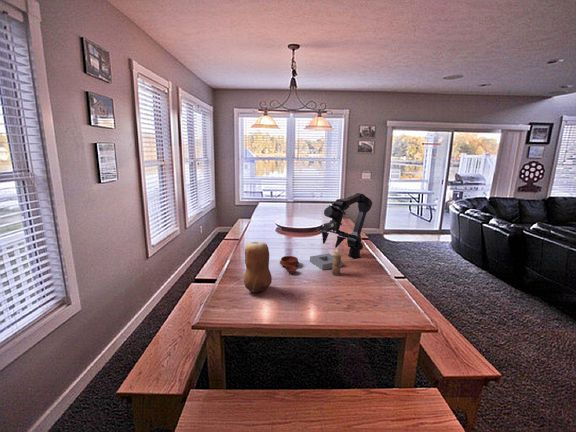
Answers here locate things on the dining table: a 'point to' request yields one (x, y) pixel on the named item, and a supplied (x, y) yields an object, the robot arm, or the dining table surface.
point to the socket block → (323, 261)
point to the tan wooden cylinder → (336, 263)
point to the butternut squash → (257, 267)
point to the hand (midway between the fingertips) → (329, 245)
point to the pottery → (289, 263)
